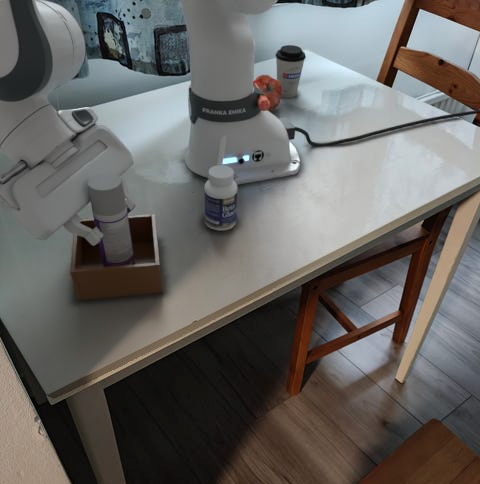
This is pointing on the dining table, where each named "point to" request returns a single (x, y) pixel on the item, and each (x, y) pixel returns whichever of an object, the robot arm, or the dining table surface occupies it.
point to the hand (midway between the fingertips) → (115, 225)
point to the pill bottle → (220, 198)
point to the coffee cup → (289, 69)
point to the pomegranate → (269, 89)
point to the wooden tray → (118, 277)
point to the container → (111, 219)
